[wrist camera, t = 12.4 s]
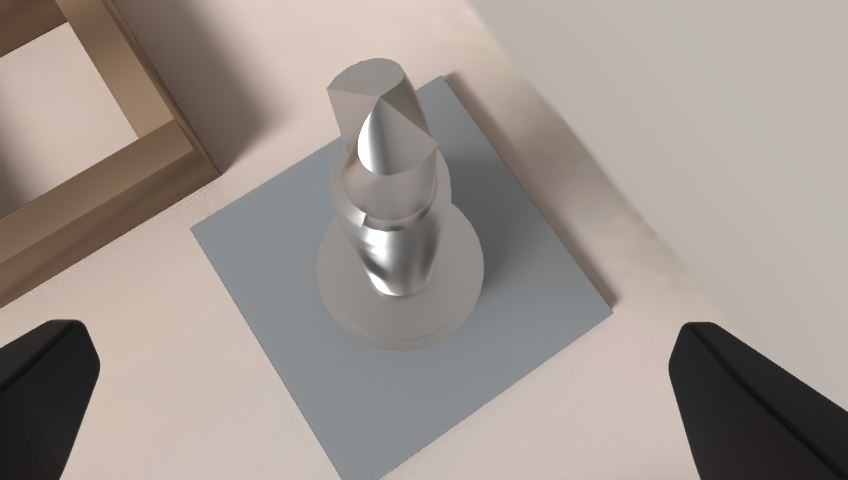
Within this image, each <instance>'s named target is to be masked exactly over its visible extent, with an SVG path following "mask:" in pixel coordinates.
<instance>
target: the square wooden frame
mask: <svg viewBox="0 0 848 480" xmlns="http://www.w3.org/2000/svg"><path fill="white" fill-rule="evenodd" d="M66 21H68V22H69V24H70V26H71V27H72V29H73V31H74V32H75V34H76V35H77V37H78V39H79V40H80V42H81V44H82V45H83V47H84V49H85V50H86V52H87V54H88V55H89V57H90V59H91V60H92V62H93V63H94V65H95V67H96V68H97V70H98V72H99V73H100V75H101V77H102V78H103V80H104V82H105V83H106V85H107V87H108V88H109V90H110V92H111V93H112V95H113V96H114V98H115V100H116V101H117V103H118V105H119V106H120V108H121V110H122V111H123V113H124V115H125V116H126V118H127V120H128V121H129V123H130V124H131V126H132V128H133V129H134V131H135V133H136V134H137V136H138V138H139V139H138V140H136V141H135V142H133V143H131V144H130V145H128V146H126V147H124V148H123V149H121V150H119V151H117V152H116V153H114V154H112V155H111V156H109V157H107V158H105V159H104V160H102V161H100V162H98V163H97V164H95V165H93V166H92V167H90V168H88V169H86V170H85V171H83V172H81V173H79V174H78V175H76V176H74V177H72V178H71V179H69V180H67V181H66V182H64V183H62V184H60V185H59V186H57V187H55V188H53V189H52V190H50V191H48V192H47V193H45V194H43V195H41V196H40V197H38V198H36V199H34V200H33V201H31V202H29V203H28V204H26V205H24V206H22V207H21V208H19V209H17V210H15V211H14V212H12V213H10V214H9V215H7V216H5V217H3V218H2V219H0V308H1V307H3V306H5V305H6V304H8V303H10V302H11V301H13V300H15V299H16V298H18V297H20V296H21V295H23V294H25V293H26V292H28V291H30V290H31V289H33V288H35V287H36V286H38V285H40V284H41V283H43V282H45V281H46V280H48V279H50V278H51V277H53V276H55V275H56V274H58V273H60V272H61V271H63V270H65V269H66V268H68V267H70V266H71V265H73V264H75V263H76V262H78V261H80V260H81V259H83V258H85V257H86V256H88V255H90V254H91V253H93V252H95V251H96V250H98V249H100V248H101V247H103V246H105V245H106V244H108V243H110V242H111V241H113V240H115V239H116V238H118V237H120V236H121V235H123V234H124V233H126V232H128V231H129V230H131V229H133V228H134V227H136V226H138V225H139V224H141V223H143V222H144V221H146V220H148V219H149V218H151V217H153V216H154V215H156V214H158V213H159V212H161V211H163V210H164V209H166V208H168V207H169V206H171V205H173V204H174V203H176V202H178V201H179V200H181V199H183V198H184V197H186V196H188V195H189V194H191V193H193V192H194V191H196V190H198V189H199V188H201V187H203V186H204V185H206V184H208V183H209V182H211V181H213V180H214V179H216V178H218V177H219V176H221V174H220V172H219V170H218V169H217V167H216V166H215V164H214V162H213V161H212V159H211V158H210V156H209V155H208V153H207V151H206V150H205V148H204V147H203V145H202V143H201V142H200V140H199V139H198V137H197V135H196V134H195V132H194V131H193V129H192V127H191V126H190V124H189V123H188V121H187V119H186V118H185V116H184V115H183V113H182V111H181V110H180V108H179V107H178V105H177V103H176V102H175V100H174V99H173V97H172V96H171V94H170V92H169V91H168V89H167V88H166V86H165V84H164V83H163V81H162V80H161V78H160V76H159V75H158V73H157V72H156V70H155V68H154V67H153V65H152V64H151V62H150V60H149V59H148V57H147V56H146V54H145V52H144V51H143V49H142V48H141V46H140V44H139V43H138V41H137V40H136V38H135V36H134V35H133V33H132V32H131V30H130V29H129V27H128V25H127V24H126V22H125V21H124V19H123V17H122V16H121V14H120V13H119V11H118V9H117V8H116V6H115V5H114V3H113V1H112V0H0V57H1V56H3V55H4V54H6V53H8V52H10V51H12V50H14V49H16V48H17V47H19V46H21V45H23V44H25V43H27V42H29V41H30V40H32V39H34V38H36V37H38V36H40V35H42V34H43V33H45V32H47V31H49V30H51V29H53V28H55V27H56V26H58V25H60V24H62V23H64V22H66Z"/></svg>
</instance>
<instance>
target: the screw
mask: <svg viewBox="0 0 848 480" xmlns="http://www.w3.org/2000/svg"><path fill="white" fill-rule="evenodd" d="M327 92H328V95H329V98H330V101H331V104H332V107H333V110H334V113H335V116H336V120H337V123H338V126H339V129H340V132H341V135H342V138H343V141H344V144H343V145H342V146H341V148H340V149H339V150H338V152H337V154H336V156H335V157H334V160H333V163H332V165H331V170H330V189H331V201H332V205H333V209H334V211H335V213H336V216H335V218H334V219H333V221H332V222H331V224H330V225H329V227H328V229H327V230H326V232H325V234H324V236H323V239H322V242H321V245H320V248H319V251H318V259H317V267H316V269H317V279H318V287H319V290H320V293H321V296H322V299H323V302H324V304H325V306H326V308H327V309H328V311H329V313H330V314H331V316H332V318H333V319H334V320H335V321H336V322H337V323H338V324H339V325H340V326H341V328H342V329H343V330H344V331H345V332H347V333H348V334H350V335H351V336H353V337H354V338H356V339H357V340H358V341H360V342H362V343H364V344H367V345H370V346H372V347H375V348H377V349H382V350H389V351H396V352H399V351H412V350H418V349H421V348H424V347H428V346H431V345H434V344H436V343H437V342H439V341H441V340H443V339H444V338H446V337H448V336H450V335H451V334H452V333H453V332H454V331H455V330H456V329H457V328H459V327H460V326H461V325H462V324H463V323H464V321H465V320H466V319H467V317H468V316H469V314H470V313H471V312H472V310H473V309H474V307H475V304H476V302H477V299H478V297H479V295H480V292H481V288H482V282H483V277H484V262H483V253H482V249H481V246H480V242H479V238H478V236H477V234H476V233H475V231H474V229H473V227H472V225H471V223H470V222H469V220H468V219H467V218H466V217H465V216H464V214H463V213H462V212H461V211H460V210H459V209H458V208H457V207H456V206H454V205H453V204H452V203H451V185H450V175H449V170H448V167H447V164H446V162H445V159H444V158H443V156H442V154H441V152H440V151H439V150H438V142H436V141H435V140H434V139H433V138H432V134H431V130H430V126H429V123H428V120H427V117H426V114H425V112H424V109H423V107H422V104H421V102H420V99H419V97H418V95H417V93H416V91H415V89H414V87H413V85H412V84H411V82H410V80H409V78H408V77H407V75H406V74H405V72H404V70H403V69H402V67H401V66H400V65H399V64H398V63H396V62H394V61H392V60H389V59H384V58H374V59H370V60H366V61H361V62H359V63H356V64H354V65H352V66H350V67H348V68H346V69H345V70H344V71H343V72H341V73H340V74H339V75H338V76H336V77H335V78H334V80H333V81H332V82H331V84H330V85H329V86H328V88H327Z"/></svg>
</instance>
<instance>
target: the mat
mask: <svg viewBox="0 0 848 480" xmlns="http://www.w3.org/2000/svg"><path fill="white" fill-rule="evenodd" d="M416 93H417V95H418V97H419V99H420V102H421V104H422V107H423V109H424V112H425V114H426V117H427V120H428V123H429V126H430V130H431V134H432V138H433V139H434V140H435V141H436V142H438V150H439V151H440V152H441V154H442V156H443V158H444V159H445V162H446V164H447V167H448V170H449V175H450V185H451V203H452V204H453V205H454V206H456V207H457V208H458V209H459V210H460V211H461V212H462V213H463V214H464V216H465V217H466V218H467V219H468V220H469V222H470V223H471V225H472V227H473V229H474V231H475V233H476V234H477V236H478V238H479V242H480V246H481V249H482V253H483V262H484V277H483V282H482V288H481V292H480V295H479V297H478V299H477V302H476V304H475V307H474V309H473V310H472V312H471V313H470V314H469V316H468V317H467V319H466V320H465V321H464V323H463V324H462V325H461V326H460V327H459V328H457V329H456V330H455V331H454V332H453V333H452V334H451V335H450V336H448V337H446V338H444V339H443V340H441V341H439V342H437V343H436V344H434V345H431V346H428V347H424V348H421V349H418V350H412V351H399V352H396V351H389V350H382V349H377V348H375V347H372V346H370V345H367V344H364V343H362V342H360V341H358V340H357V339H356V338H354V337H353V336H351V335H350V334H348V333H347V332H345V331H344V330H343V329H342V328H341V326H340V325H339V324H338V323H337V322H336V321H335V320H334V319H333V318H332V316H331V314H330V313H329V311H328V309H327V308H326V306H325V304H324V302H323V299H322V296H321V293H320V290H319V287H318V279H317V269H316V267H317V259H318V251H319V248H320V245H321V242H322V239H323V236H324V234H325V232H326V230H327V229H328V227H329V225H330V224H331V222H332V221H333V219H334V218H335V216H336V213H335V211H334V209H333V205H332V201H331V189H330V170H331V165H332V163H333V160H334V157H335V156H336V154H337V152H338V150H339V149H340V148H341V146H342V145H343V144H344V141H343V138H342V136H341V137H339V138H337V139H336V140H334V141H332V142H331V143H329V144H328V145H326V146H324V147H323V148H321V149H319V150H318V151H316V152H314V153H313V154H311V155H309V156H308V157H306V158H305V159H303V160H301V161H300V162H298V163H296V164H295V165H293V166H291V167H290V168H288V169H287V170H285V171H283V172H282V173H280V174H278V175H277V176H275V177H273V178H272V179H270V180H268V181H267V182H265V183H264V184H262V185H260V186H259V187H257V188H255V189H254V190H252V191H250V192H249V193H247V194H246V195H244V196H242V197H241V198H239V199H237V200H236V201H234V202H232V203H231V204H229V205H227V206H226V207H224V208H223V209H221V210H219V211H218V212H216V213H214V214H213V215H211V216H209V217H208V218H206V219H204V220H203V221H201V222H200V223H198V224H196V225H195V226H193V227H191V228H190V229H191V231H192V233H193V234H194V236H195V238H196V239H197V241H198V243H199V244H200V246H201V248H202V249H203V251H204V253H205V254H206V256H207V258H208V259H209V261H210V263H211V264H212V266H213V267H214V269H215V271H216V272H217V274H218V276H219V277H220V279H221V281H222V282H223V284H224V286H225V287H226V289H227V291H228V292H229V294H230V296H231V297H232V299H233V301H234V302H235V304H236V305H237V307H238V309H239V310H240V312H241V314H242V315H243V317H244V319H245V320H246V322H247V324H248V325H249V327H250V329H251V330H252V332H253V334H254V335H255V337H256V339H257V340H258V342H259V343H260V345H261V347H262V348H263V350H264V352H265V353H266V355H267V357H268V358H269V360H270V362H271V363H272V365H273V367H274V368H275V370H276V372H277V373H278V375H279V377H280V378H281V380H282V381H283V383H284V385H285V386H286V388H287V390H288V391H289V393H290V395H291V396H292V398H293V400H294V401H295V403H296V405H297V406H298V408H299V410H300V411H301V413H302V415H303V416H304V418H305V419H306V421H307V423H308V424H309V426H310V428H311V429H312V431H313V433H314V434H315V436H316V438H317V439H318V441H319V443H320V444H321V446H322V448H323V449H324V451H325V453H326V454H327V456H328V457H329V459H330V461H331V462H332V464H333V466H334V467H335V469H336V471H337V472H338V474H339V476H340V477H341V479H342V480H379V479H381V478H382V477H383V476H385V475H386V474H388V473H389V472H390V471H392V470H393V469H395V468H396V467H398V466H399V465H400V464H402V463H403V462H405V461H406V460H407V459H409V458H410V457H412V456H413V455H414V454H416V453H417V452H419V451H420V450H421V449H423V448H424V447H426V446H427V445H428V444H430V443H431V442H433V441H434V440H436V439H437V438H438V437H440V436H441V435H443V434H444V433H445V432H447V431H448V430H450V429H451V428H452V427H454V426H455V425H457V424H458V423H459V422H461V421H462V420H464V419H465V418H467V417H468V416H469V415H471V414H472V413H474V412H475V411H476V410H478V409H479V408H481V407H482V406H483V405H485V404H486V403H488V402H489V401H490V400H492V399H493V398H495V397H496V396H497V395H499V394H500V393H502V392H503V391H505V390H506V389H507V388H509V387H510V386H512V385H513V384H514V383H516V382H517V381H519V380H520V379H521V378H523V377H524V376H526V375H527V374H528V373H530V372H531V371H533V370H534V369H536V368H537V367H538V366H540V365H541V364H543V363H544V362H545V361H547V360H548V359H550V358H551V357H552V356H554V355H555V354H557V353H558V352H559V351H561V350H562V349H564V348H565V347H566V346H568V345H569V344H571V343H572V342H574V341H575V340H576V339H578V338H579V337H581V336H582V335H583V334H585V333H586V332H588V331H589V330H590V329H592V328H593V327H595V326H596V325H597V324H599V323H600V322H602V321H603V320H605V319H606V318H607V317H609V316H610V315H612V314H613V311H612V310H611V309H610V307H609V306H608V305H607V303H606V302H605V300H604V299H603V298H602V296H601V295H600V294H599V292H598V291H597V289H596V288H595V287H594V285H593V284H592V283H591V281H590V280H589V278H588V277H587V276H586V274H585V273H584V272H583V270H582V269H581V267H580V266H579V265H578V263H577V262H576V260H575V259H574V258H573V256H572V255H571V254H570V252H569V251H568V249H567V248H566V247H565V245H564V244H563V243H562V241H561V240H560V238H559V237H558V236H557V234H556V233H555V232H554V230H553V229H552V227H551V226H550V225H549V223H548V222H547V221H546V219H545V218H544V216H543V215H542V214H541V212H540V211H539V210H538V208H537V207H536V205H535V204H534V203H533V201H532V200H531V198H530V197H529V196H528V194H527V193H526V192H525V190H524V189H523V187H522V186H521V185H520V183H519V182H518V181H517V179H516V178H515V176H514V175H513V174H512V172H511V171H510V170H509V168H508V167H507V165H506V164H505V163H504V161H503V160H502V159H501V157H500V156H499V154H498V153H497V152H496V150H495V149H494V147H493V146H492V145H491V143H490V142H489V141H488V139H487V138H486V136H485V135H484V134H483V132H482V131H481V130H480V128H479V127H478V125H477V124H476V123H475V121H474V120H473V119H472V117H471V116H470V114H469V113H468V112H467V110H466V109H465V108H464V106H463V105H462V103H461V102H460V101H459V99H458V98H457V97H456V95H455V94H454V92H453V91H452V90H451V88H450V87H449V85H448V84H447V83H446V81H445V80H444V79H443V77H442V76H439V77H437V78H436V79H434V80H433V81H431V82H429V83H428V84H426V85H424V86H423V87H421V88H419V89H418V90H416Z"/></svg>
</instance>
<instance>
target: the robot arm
mask: <svg viewBox="0 0 848 480" xmlns="http://www.w3.org/2000/svg"><path fill="white" fill-rule="evenodd" d="M99 372H100V360H99V357H98V354H97V352H96V350H95V347H94V345H93V342H92V340H91V338H90V335H89V333H88V331H87V328H86V326H85V325H84V324H83V323H82V322H81V321H79V320H50V321H47V322H45V323H43V324H42V325H40V326H38V327H37V328H35V329H33V330H31V331H30V332H28V333H26V334H24V335H23V336H21V337H19V338H17V339H16V340H14V341H12V342H10V343H9V344H7V345H5V346H4V347H2V348H0V480H59V479H60V477H61V475H62V473H63V471H64V468H65V466H66V463H67V461H68V458H69V456H70V453H71V451H72V448H73V445H74V442H75V440H76V437H77V434H78V431H79V429H80V426H81V423H82V420H83V418H84V415H85V412H86V409H87V407H88V404H89V401H90V398H91V396H92V393H93V390H94V387H95V385H96V382H97V379H98V376H99ZM669 376H670V380H671V383H672V387H673V390H674V394H675V397H676V401H677V404H678V407H679V411H680V414H681V418H682V421H683V425H684V428H685V432H686V435H687V439H688V442H689V446H690V449H691V453H692V456H693V459H694V462H695V465H696V468H697V471H698V474H699V476H700V479H701V480H848V412H847V411H846V410H844V409H843V408H841V407H839V406H838V405H837V404H835V403H834V402H832V401H831V400H829V399H828V398H826V397H825V396H823V395H822V394H820V393H819V392H817V391H816V390H814V389H813V388H811V387H810V386H808V385H807V384H805V383H804V382H802V381H800V380H799V379H798V378H796V377H795V376H793V375H792V374H790V373H789V372H787V371H785V370H784V369H783V368H781V367H780V366H778V365H777V364H775V363H774V362H772V361H771V360H769V359H768V358H766V357H765V356H763V355H762V354H760V353H759V352H757V351H756V350H754V349H753V348H751V347H750V346H748V345H747V344H745V343H744V342H742V341H741V340H739V339H738V338H736V337H735V336H733V335H732V334H730V333H729V332H727V331H726V330H724V329H723V328H721V327H720V326H718V325H717V324H715V323H711V322H688V323H685V324H684V325H683V326H682V328H681V330H680V332H679V335H678V338H677V340H676V343H675V346H674V349H673V351H672V354H671V357H670V360H669Z"/></svg>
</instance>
